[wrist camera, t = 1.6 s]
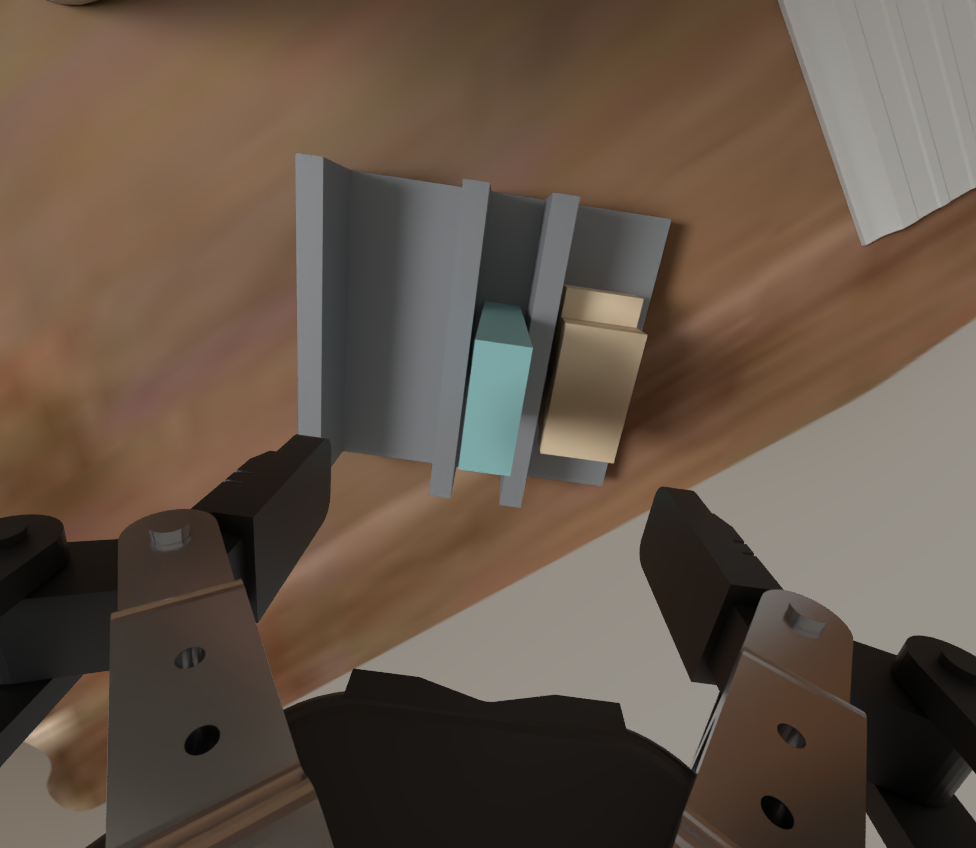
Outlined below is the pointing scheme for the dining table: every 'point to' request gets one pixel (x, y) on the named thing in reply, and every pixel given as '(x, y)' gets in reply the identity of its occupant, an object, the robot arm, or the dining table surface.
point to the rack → (441, 307)
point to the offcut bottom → (592, 315)
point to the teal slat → (496, 390)
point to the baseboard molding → (892, 101)
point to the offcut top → (590, 389)
